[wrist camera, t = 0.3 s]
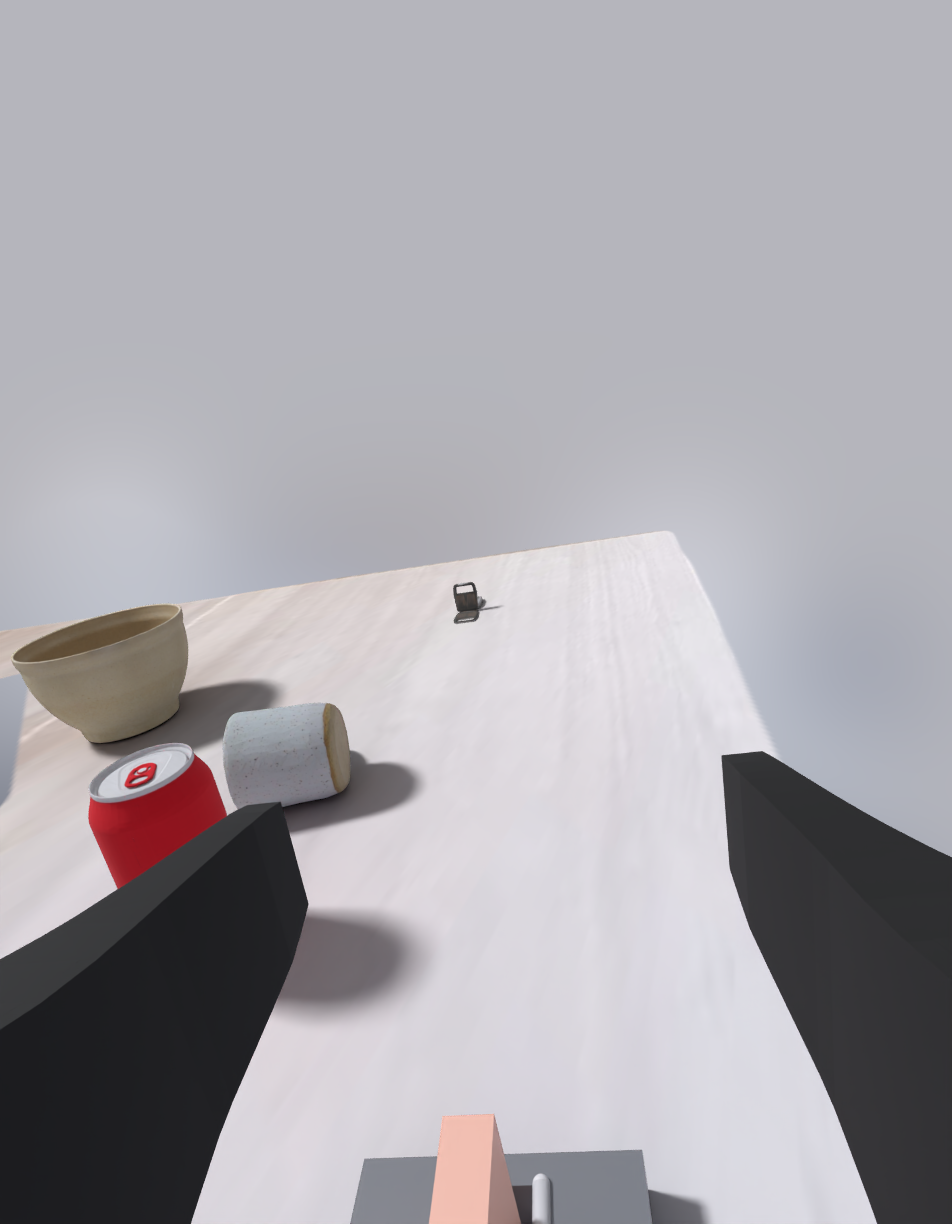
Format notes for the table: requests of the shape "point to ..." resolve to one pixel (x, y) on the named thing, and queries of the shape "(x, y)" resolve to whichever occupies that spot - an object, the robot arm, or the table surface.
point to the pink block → (472, 1174)
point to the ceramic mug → (286, 754)
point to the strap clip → (467, 604)
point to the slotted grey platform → (517, 1188)
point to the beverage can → (151, 807)
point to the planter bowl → (110, 671)
